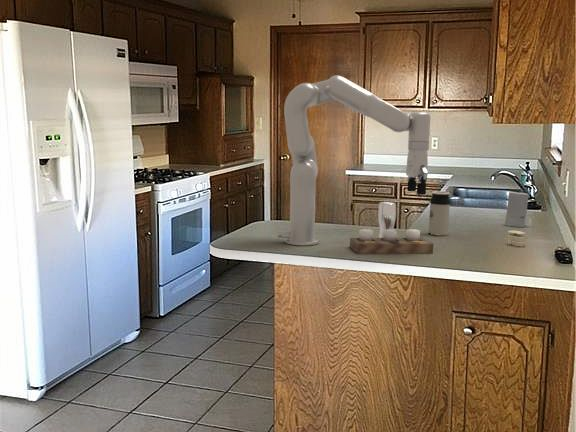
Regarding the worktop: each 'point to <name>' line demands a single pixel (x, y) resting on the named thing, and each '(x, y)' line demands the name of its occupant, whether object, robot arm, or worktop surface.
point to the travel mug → (439, 213)
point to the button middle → (389, 235)
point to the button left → (366, 235)
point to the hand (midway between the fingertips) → (416, 192)
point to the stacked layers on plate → (516, 238)
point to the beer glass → (386, 216)
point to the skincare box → (516, 209)
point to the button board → (391, 246)
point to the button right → (412, 235)
